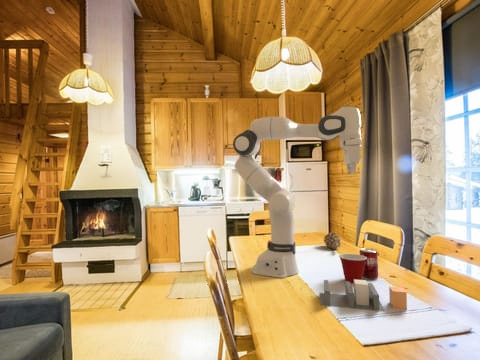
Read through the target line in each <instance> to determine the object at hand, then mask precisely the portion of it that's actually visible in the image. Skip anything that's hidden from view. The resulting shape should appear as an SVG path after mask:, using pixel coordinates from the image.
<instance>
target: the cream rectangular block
mask: <svg viewBox="0 0 480 360" xmlns="http://www.w3.org/2000/svg"><path fill="white" fill-rule="evenodd" d="M368 283H369V282H368V281H367V279H366V280H364V279H362V280H355V279H354V284H353V292H354V300H355V303H356V304H357V305H368V306H369V285H368Z"/></svg>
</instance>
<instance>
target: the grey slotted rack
mask: <svg viewBox="0 0 480 360" xmlns="http://www.w3.org/2000/svg"><path fill="white" fill-rule="evenodd" d="M344 282H345V294H340V293H331V290H330V284H329V280H328V279H323V291H324V292H319V305H320V306H325V307H333V308H336V307H337V308H344V309H345V308H346V309H355V310H356V309H358V310H365V311H377V312H386V309H385V308H384V306H383V304H382V303H381V301H380V295H379V293H378V291H377V289H376V287H375V285H374V284H373V283H372V282H367V283H368V285H369V306H368V305H357V304H356V303H355V300H354V288H353V287H352V283H350V282H348V281H345V280H344Z"/></svg>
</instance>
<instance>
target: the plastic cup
mask: <svg viewBox="0 0 480 360" xmlns="http://www.w3.org/2000/svg"><path fill="white" fill-rule="evenodd" d="M338 257H339V258H340V262H341V266H342V267H341V268H342V273H343V276H344V282H345V281H348V282H350V284H353V285H354V279H355V280H363V270H364V265H365V261H366V259H367V257H365V256H362V255H360V254H356V253H342V254H338Z"/></svg>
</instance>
